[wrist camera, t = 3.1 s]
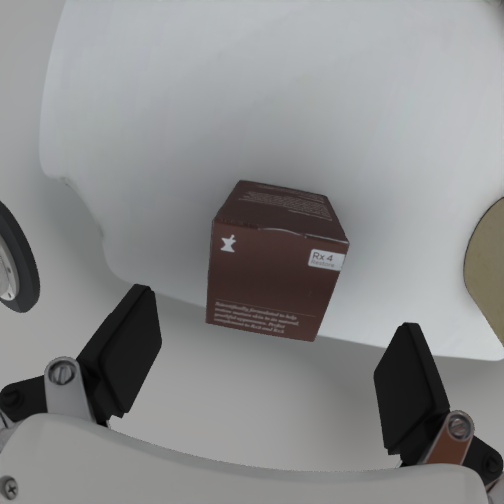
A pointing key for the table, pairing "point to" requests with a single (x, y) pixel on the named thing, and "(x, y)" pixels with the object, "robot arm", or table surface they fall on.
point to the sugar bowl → (488, 268)
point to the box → (273, 261)
